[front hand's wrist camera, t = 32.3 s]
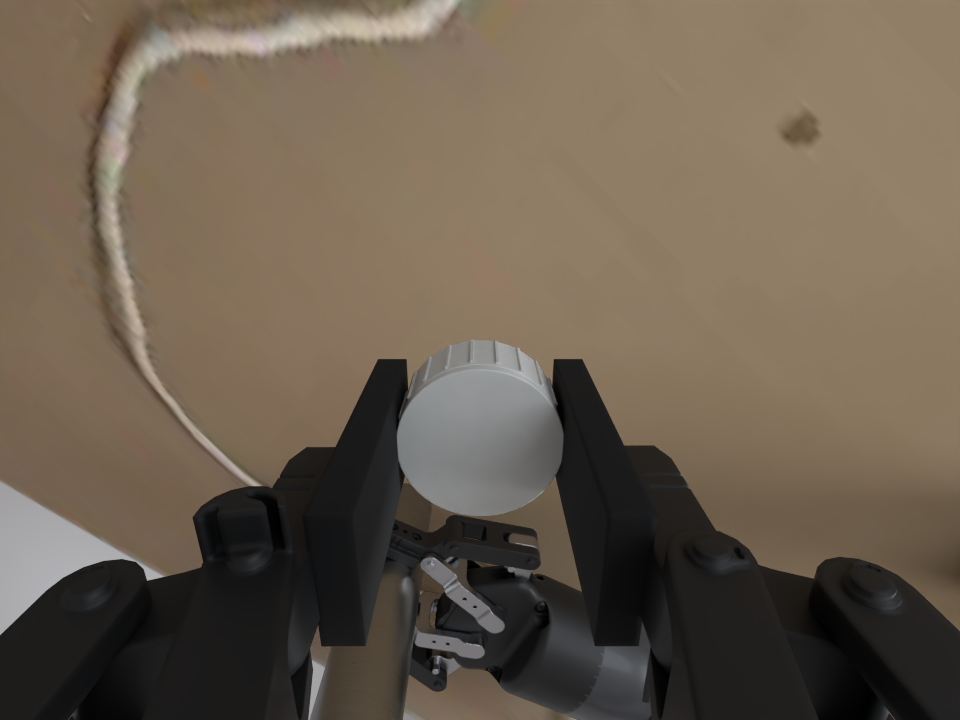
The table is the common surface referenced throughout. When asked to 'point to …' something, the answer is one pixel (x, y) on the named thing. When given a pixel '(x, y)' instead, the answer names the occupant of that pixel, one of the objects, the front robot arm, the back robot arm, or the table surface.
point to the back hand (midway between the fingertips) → (349, 557)
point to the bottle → (379, 640)
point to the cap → (480, 429)
